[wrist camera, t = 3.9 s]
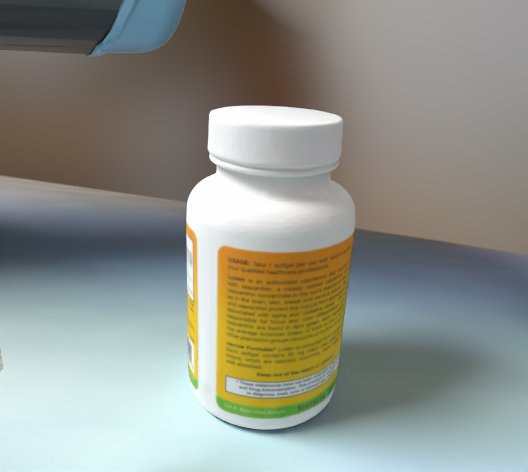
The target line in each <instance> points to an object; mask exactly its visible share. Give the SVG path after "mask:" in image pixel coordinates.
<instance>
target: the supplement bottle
mask: <svg viewBox="0 0 528 472" xmlns="http://www.w3.org/2000/svg"><path fill="white" fill-rule="evenodd" d="M342 132H343V120H342V118H341V117H339V116H337V115H334V114H331V113H327V112H322V111H316V110H310V109H301V108H291V107H277V106H233V107H224V108H220V109H215V110H213V111H211V112H210V115H209V138H208V139H209V141H208V150H209V152H210V160H211V161H212V162H213V163H215V164H216V165H217V172H216V174H214V175H211V176H209V177H207V178H205V179H203V180H202V181H201V182H199V183H198V184H197V185H196V187H195V188H194V189H193V190H192V192H191V194H190V196H189V199H188V202H187V217H186V240H187V309H188V370H189V381H190V386H191V389H192V392H193V394H194V396H195V398H196V399H197V401H198V402H199V403H200V404H201V405H202V406H203V407H204V408H205V409H206V410H207V411H208V412H210V413H211V414H213V415H214V416H216V417H218V418H220V419H221V420H224V421H226V422H229V423H231V424H234V425H238V426H242V427H247V428H253V429H266V430H268V429H281V428H287V427H292V426H295V425H298V424H300V423H303V422H305V421H307V420H309V419H310V418H312V417H314V416H315V415H317V414H318V413H319V412H321V411H322V410H323V409H324V408H325V406H326V405H327V404H328V403H329V401H330V399H331V397H332V395H333V392H334V389H335V386H336V379H337V372H338V365H339V356H340V347H341V338H342V329H343V321H344V313H345V305H346V296H347V288H348V280H349V272H350V264H351V256H352V247H353V239H354V232H355V220H356V212H355V206H354V203H353V200H352V198H351V197H350V195H349V194H348V192H347V191H346V190H345V189H344V188H343V187H341V186H340V185H339V184H338V183H336V182H334V181H332V180H330V172H331V170H334V169H335V168H336V167H337V166H338V164H339V160H338V159H339V157H340V155H341V146H342Z"/></svg>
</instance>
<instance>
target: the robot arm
mask: <svg viewBox="0 0 528 472" xmlns="http://www.w3.org/2000/svg"><path fill="white" fill-rule="evenodd" d="M185 2H186V0H0V50H17V51H37V52H55V53H74V54H85V55H86V56H91V57H92V56H99V55H101V54H103V53H114V52H115V53H118V52H148V51H151V50H154V49H156V48H158V47H160V46H162V45H163V44H164V43H166V42H167V41H168V39H169V38H170V37H171V36H172V35H173V33H174V31H175V30H176V28H177V26H178V23H179V21H180V18H181V15H182V12H183V9H184V5H185ZM2 369H3V362H2V357H1V351H0V371H1V370H2Z"/></svg>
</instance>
